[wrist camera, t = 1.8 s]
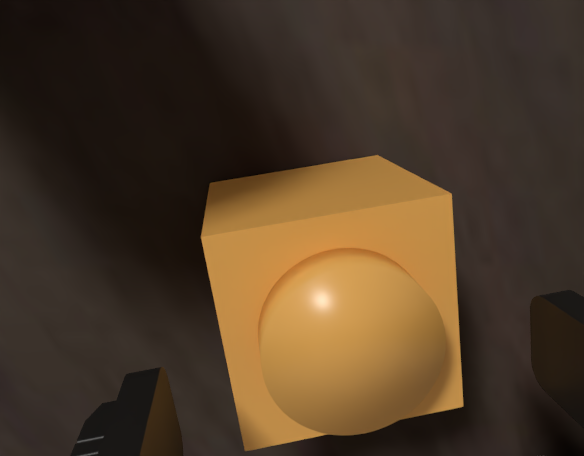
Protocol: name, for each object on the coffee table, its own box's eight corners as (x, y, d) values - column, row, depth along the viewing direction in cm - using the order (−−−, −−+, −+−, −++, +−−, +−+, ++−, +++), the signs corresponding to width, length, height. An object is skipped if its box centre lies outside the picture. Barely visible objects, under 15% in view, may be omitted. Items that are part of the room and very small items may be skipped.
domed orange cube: (209, 182, 17) (198, 254, 10) (377, 155, 17) (476, 206, 10) (239, 335, 19) (246, 487, 12) (391, 307, 19) (485, 438, 12)
